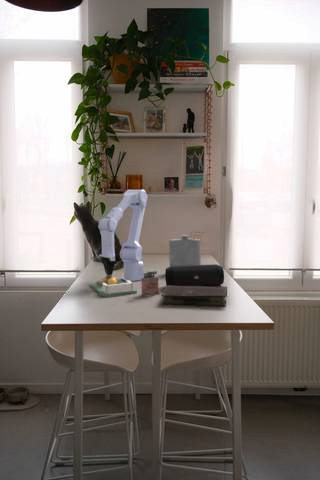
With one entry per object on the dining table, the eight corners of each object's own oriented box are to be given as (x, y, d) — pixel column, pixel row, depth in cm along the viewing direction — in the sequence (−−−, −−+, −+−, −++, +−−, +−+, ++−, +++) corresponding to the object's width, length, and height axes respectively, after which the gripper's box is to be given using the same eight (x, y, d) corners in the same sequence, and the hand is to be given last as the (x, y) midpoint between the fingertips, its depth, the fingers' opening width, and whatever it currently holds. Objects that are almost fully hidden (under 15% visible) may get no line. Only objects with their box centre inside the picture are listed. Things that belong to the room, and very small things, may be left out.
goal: (128, 287, 207) (128, 280, 206) (133, 290, 201) (132, 282, 201) (102, 290, 202) (102, 282, 202) (106, 293, 197) (106, 285, 196)
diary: (168, 295, 200) (168, 284, 199) (227, 297, 195) (227, 285, 195) (160, 306, 181) (160, 294, 181) (225, 308, 177) (225, 296, 177)
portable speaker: (167, 290, 205) (167, 268, 204) (165, 285, 215) (164, 264, 214) (224, 288, 208) (224, 266, 207) (219, 283, 218) (219, 262, 216)
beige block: (114, 282, 217) (113, 265, 216) (117, 284, 213) (116, 267, 212) (101, 283, 215) (100, 266, 214) (104, 285, 211) (103, 268, 210)
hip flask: (169, 274, 240) (169, 235, 237) (170, 272, 244) (169, 234, 241) (200, 274, 239) (200, 235, 236) (200, 272, 243) (200, 234, 240)
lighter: (143, 296, 196) (142, 273, 194) (140, 294, 199) (139, 271, 197) (160, 293, 199) (160, 271, 198) (156, 292, 202) (156, 269, 201)
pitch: (120, 282, 223) (120, 278, 222) (136, 293, 202) (136, 288, 201) (90, 285, 217) (89, 281, 217) (103, 296, 196) (103, 292, 196)
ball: (114, 279, 213) (116, 276, 209) (116, 287, 211) (118, 284, 208) (106, 280, 211) (107, 276, 208) (107, 288, 210) (109, 285, 206)
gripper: (95, 243, 217) (96, 271, 219) (103, 247, 203) (104, 277, 205) (110, 242, 219) (111, 270, 221) (119, 246, 206) (119, 276, 208)
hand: (108, 274), depth 213 cm, fingers closed on beige block, 2 cm apart
